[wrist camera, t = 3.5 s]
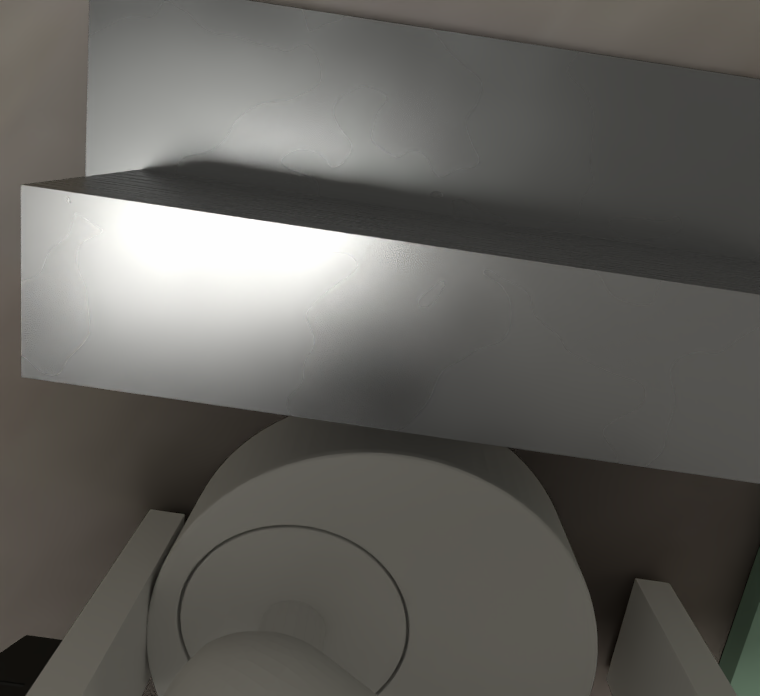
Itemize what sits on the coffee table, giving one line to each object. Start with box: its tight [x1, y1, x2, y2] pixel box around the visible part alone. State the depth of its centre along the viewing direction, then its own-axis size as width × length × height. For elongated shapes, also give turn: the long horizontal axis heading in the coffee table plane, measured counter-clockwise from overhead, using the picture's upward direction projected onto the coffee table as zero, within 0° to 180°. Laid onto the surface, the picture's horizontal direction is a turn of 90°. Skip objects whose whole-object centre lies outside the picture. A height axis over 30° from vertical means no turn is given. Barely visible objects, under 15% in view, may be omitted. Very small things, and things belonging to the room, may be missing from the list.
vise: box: [21, 0, 760, 484], centre depth 14 cm, size 14×23×5 cm, turn 172°
